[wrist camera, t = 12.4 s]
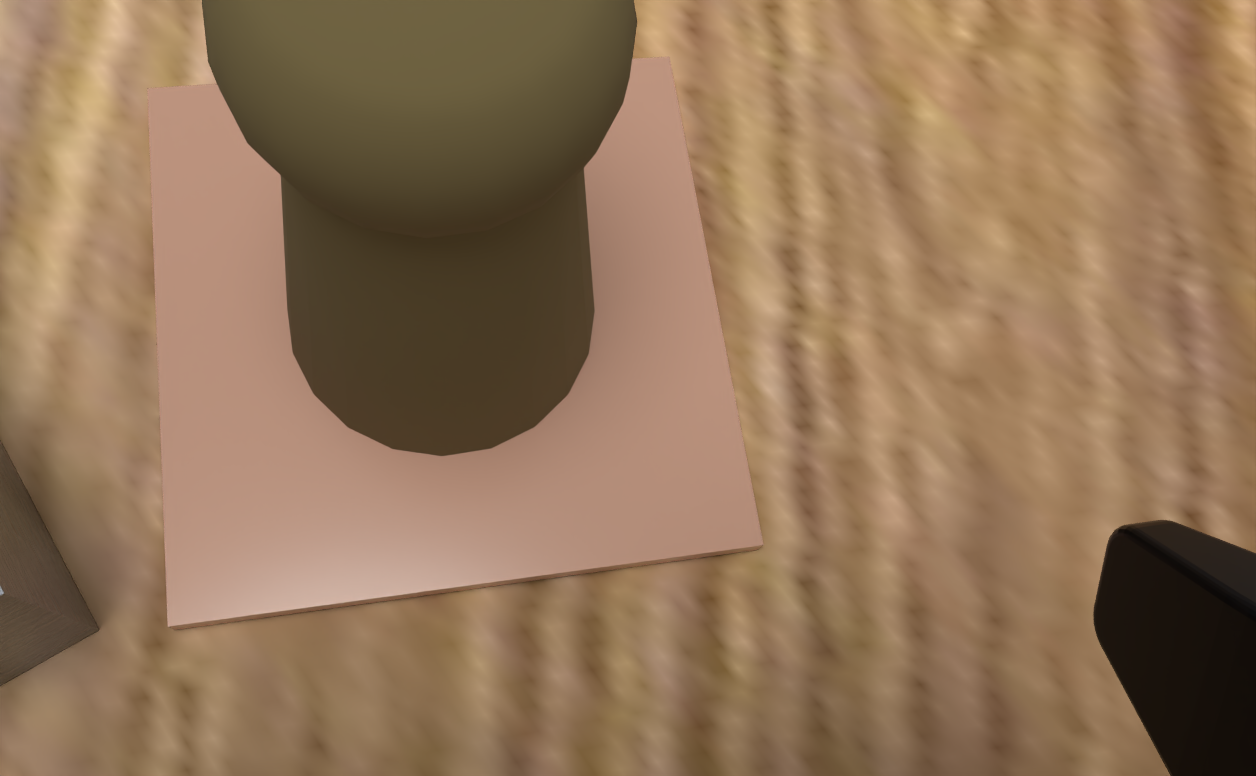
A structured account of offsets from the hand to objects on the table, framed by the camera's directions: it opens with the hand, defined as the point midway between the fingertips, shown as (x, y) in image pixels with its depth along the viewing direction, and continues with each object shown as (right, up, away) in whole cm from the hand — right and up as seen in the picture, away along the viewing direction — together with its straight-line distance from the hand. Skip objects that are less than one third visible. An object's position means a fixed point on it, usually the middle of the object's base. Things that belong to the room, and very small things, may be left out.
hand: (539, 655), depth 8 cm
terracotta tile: (-3, +3, +15) cm, 16 cm away
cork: (-3, +3, +15) cm, 16 cm away
